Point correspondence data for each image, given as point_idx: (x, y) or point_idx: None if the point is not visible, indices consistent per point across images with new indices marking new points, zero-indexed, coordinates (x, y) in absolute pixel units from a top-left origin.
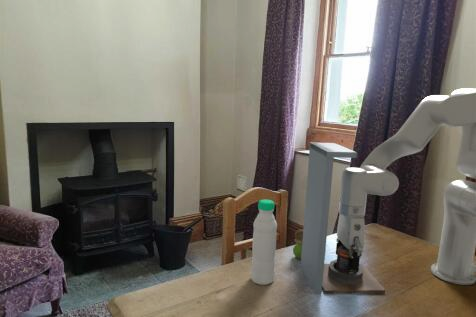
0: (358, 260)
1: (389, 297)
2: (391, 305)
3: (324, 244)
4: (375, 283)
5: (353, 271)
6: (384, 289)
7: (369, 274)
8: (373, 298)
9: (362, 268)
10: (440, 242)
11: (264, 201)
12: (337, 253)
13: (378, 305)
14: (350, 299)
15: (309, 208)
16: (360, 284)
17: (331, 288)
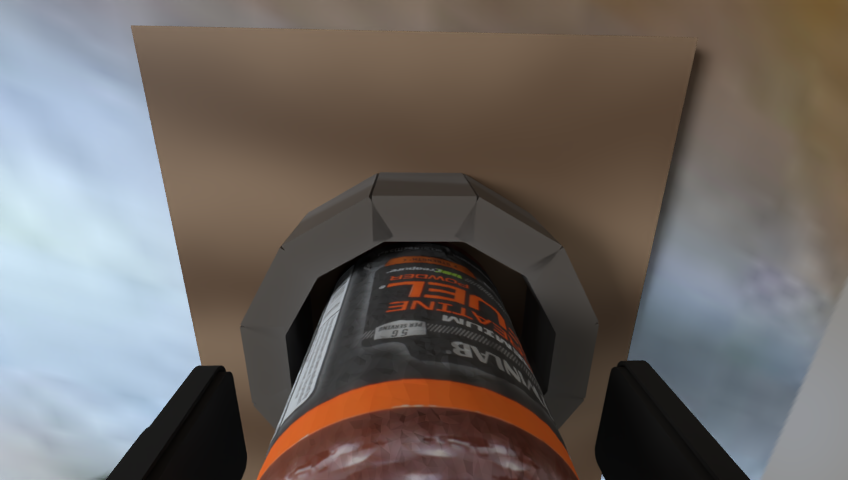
0: (728, 475)
1: (742, 32)
2: (842, 82)
3: None
4: (569, 81)
5: (510, 320)
6: (686, 40)
7: (388, 56)
8: (714, 187)
9: (457, 198)
10: None
11: None
12: (239, 474)
13: (802, 191)
14: (679, 350)
15: None
16: (564, 236)
17: (581, 451)
